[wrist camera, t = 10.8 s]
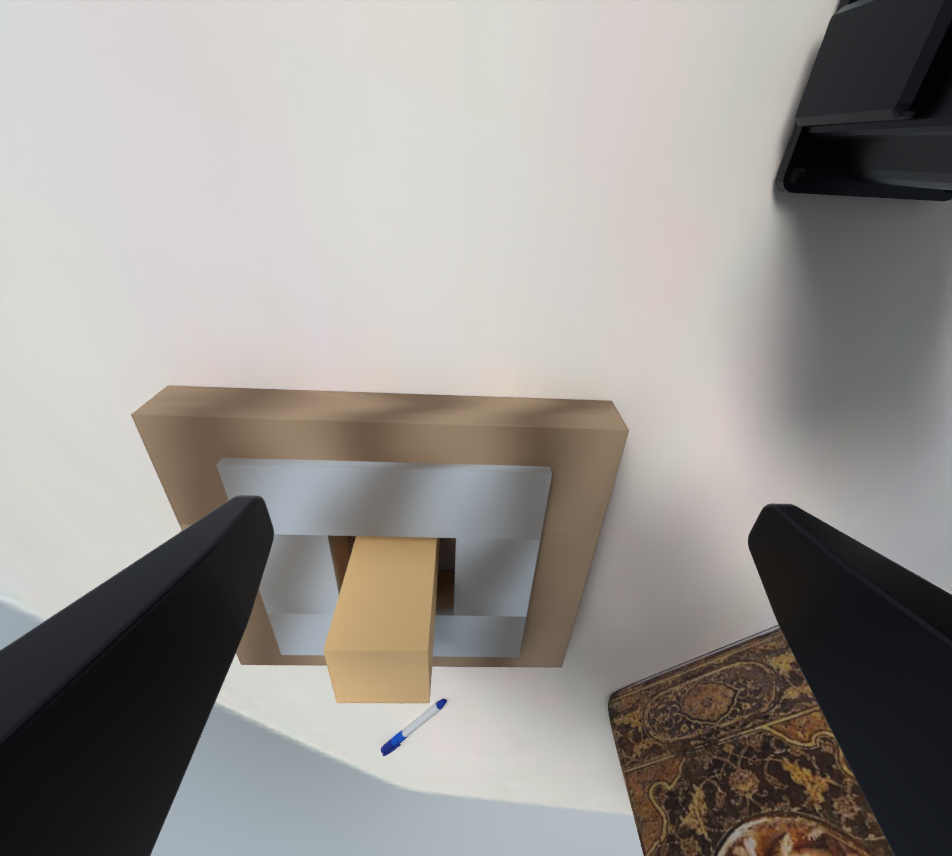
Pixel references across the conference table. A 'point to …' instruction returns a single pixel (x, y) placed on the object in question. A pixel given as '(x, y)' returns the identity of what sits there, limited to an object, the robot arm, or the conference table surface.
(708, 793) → the book
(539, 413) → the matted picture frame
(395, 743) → the ballpoint pen
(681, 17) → the conference table surface
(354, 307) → the conference table surface
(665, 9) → the conference table surface
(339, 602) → the tan cardboard-colored box
